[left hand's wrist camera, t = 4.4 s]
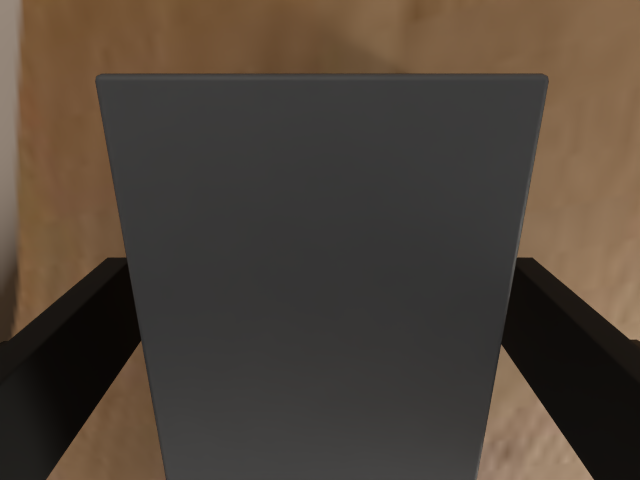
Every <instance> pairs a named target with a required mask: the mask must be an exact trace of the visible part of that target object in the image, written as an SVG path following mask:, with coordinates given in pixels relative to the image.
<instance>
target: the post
mask: <svg viewBox="0 0 640 480" xmlns="http://www.w3.org/2000/svg"><path fill="white" fill-rule="evenodd" d="M95 82H96V88H97V93H98V99H99V105H100V110H101V116H102V121H103V127H104V133H105V138H106V144H107V150H108V155H109V161H110V166H111V172H112V178H113V183H114V189H115V195H116V200H117V206H118V211H119V217H120V223H121V228H122V234H123V240H124V245H125V251H126V256H127V262H128V268H129V273H130V279H131V285H132V290H133V296H134V301H135V307H136V313H137V318H138V324H139V330H140V335H141V341H142V346H143V352H144V358H145V363H146V369H147V374H148V380H149V386H150V391H151V397H152V403H153V408H154V414H155V419H156V425H157V431H158V436H159V442H160V448H161V453H162V459H163V464H164V470H165V476H166V480H477V475H478V469H479V463H480V458H481V452H482V447H483V441H484V436H485V430H486V425H487V419H488V414H489V408H490V403H491V397H492V392H493V386H494V381H495V375H496V369H497V364H498V358H499V353H500V347H501V342H502V336H503V331H504V325H505V320H506V314H507V309H508V303H509V298H510V292H511V287H512V281H513V276H514V270H515V264H516V259H517V253H518V248H519V242H520V237H521V231H522V226H523V220H524V215H525V209H526V204H527V198H528V193H529V187H530V182H531V176H532V170H533V165H534V159H535V154H536V148H537V143H538V137H539V132H540V126H541V121H542V115H543V110H544V104H545V99H546V93H547V88H548V82H549V81H548V76H546V75H544V74H100V75H98V76H96V81H95Z"/></svg>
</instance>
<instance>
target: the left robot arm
mask: <svg viewBox="0 0 640 480" xmlns="http://www.w3.org/2000/svg"><path fill="white" fill-rule="evenodd" d="M140 341H141V335H140V330H139V324H138V318H137V313H136V307H135V301H134V296H133V290H132V285H131V279H130V273H129V268H128V262H127V258H107V259H106V260H104V261H103V262H102V263H101V264H100V265H98V266H97V267H96V268H95V269H94V270H92V271H91V272H90V273H89V274H88V275H86V276H85V277H84V278H83V279H82V280H81V281H79V282H78V283H77V284H76V285H75V286H73V287H72V288H71V289H70V290H69V291H67V292H66V293H65V294H64V295H63V296H62V297H60V298H59V299H58V300H57V301H56V302H54V303H53V304H52V305H51V306H50V307H48V308H47V309H46V310H45V311H44V312H43V313H41V314H40V315H39V316H38V317H37V318H35V319H34V320H33V321H32V322H31V323H29V324H28V325H27V326H26V327H25V328H23V329H22V330H21V331H20V332H19V333H18V334H16V335H15V336H14V337H13V338H12V339H10V340H9V341H3V342H1V343H0V480H46V479H47V477H48V476H49V474H50V473H51V472H52V470H53V469H54V467H55V466H56V464H57V463H58V461H59V460H60V458H61V457H62V455H63V454H64V453H65V451H66V450H67V448H68V447H69V445H70V444H71V442H72V441H73V439H74V438H75V436H76V435H77V434H78V432H79V431H80V429H81V428H82V426H83V425H84V423H85V422H86V420H87V419H88V417H89V416H90V415H91V413H92V412H93V410H94V409H95V407H96V406H97V404H98V403H99V401H100V400H101V398H102V397H103V396H104V394H105V393H106V391H107V390H108V388H109V387H110V385H111V384H112V382H113V381H114V379H115V378H116V377H117V375H118V374H119V372H120V371H121V369H122V368H123V366H124V365H125V363H126V362H127V360H128V359H129V358H130V356H131V355H132V353H133V352H134V350H135V349H136V347H137V346H138V344H139V343H140ZM501 344H502V346H503V347H504V349H505V350H506V352H507V353H508V355H509V356H510V358H511V359H512V360H513V362H514V363H515V365H516V366H517V368H518V369H519V371H520V372H521V374H522V375H523V377H524V378H525V379H526V381H527V382H528V384H529V385H530V387H531V388H532V390H533V391H534V393H535V394H536V396H537V397H538V398H539V400H540V401H541V403H542V404H543V406H544V407H545V409H546V410H547V412H548V413H549V415H550V416H551V417H552V419H553V420H554V422H555V423H556V425H557V426H558V428H559V429H560V431H561V432H562V434H563V435H564V436H565V438H566V439H567V441H568V442H569V444H570V445H571V447H572V448H573V450H574V451H575V453H576V454H577V455H578V457H579V458H580V460H581V461H582V463H583V464H584V466H585V467H586V469H587V470H588V472H589V473H590V474H591V476H592V477H593V479H594V480H640V341H638V340H630V339H628V338H627V337H626V336H625V335H624V334H622V333H621V332H620V331H619V330H618V329H617V328H615V327H614V326H613V325H612V324H611V323H609V322H608V321H607V320H606V319H605V318H603V317H602V316H601V315H600V314H599V313H597V312H596V311H595V310H594V309H593V308H592V307H590V306H589V305H588V304H587V303H586V302H584V301H583V300H582V299H581V298H580V297H578V296H577V295H576V294H575V293H574V292H573V291H571V290H570V289H569V288H568V287H567V286H565V285H564V284H563V283H562V282H561V281H559V280H558V279H557V278H556V277H555V276H554V275H552V274H551V273H550V272H549V271H548V270H546V269H545V268H544V267H543V266H542V265H540V264H539V263H538V262H537V261H536V260H535V259H533V258H517V259H516V264H515V270H514V276H513V281H512V287H511V292H510V298H509V303H508V309H507V314H506V320H505V325H504V331H503V336H502V342H501Z"/></svg>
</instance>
